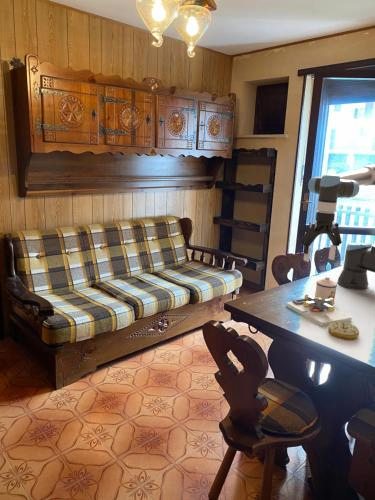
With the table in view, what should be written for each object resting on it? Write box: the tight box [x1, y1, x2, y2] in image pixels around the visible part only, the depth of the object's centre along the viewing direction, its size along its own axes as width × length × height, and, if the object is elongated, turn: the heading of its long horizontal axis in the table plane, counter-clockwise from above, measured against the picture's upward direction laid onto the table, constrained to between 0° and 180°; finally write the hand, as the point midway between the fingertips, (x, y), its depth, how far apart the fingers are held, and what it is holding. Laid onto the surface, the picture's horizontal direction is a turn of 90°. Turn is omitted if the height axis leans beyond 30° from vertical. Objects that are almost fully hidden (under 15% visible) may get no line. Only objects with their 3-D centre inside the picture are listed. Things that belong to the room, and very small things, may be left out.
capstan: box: [303, 293, 336, 312], centre depth 165 cm, size 17×17×5 cm
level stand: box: [286, 297, 352, 327], centre depth 166 cm, size 16×22×3 cm
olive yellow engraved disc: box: [328, 322, 360, 341], centre depth 147 cm, size 10×11×4 cm
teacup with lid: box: [314, 276, 338, 300], centre depth 181 cm, size 12×9×12 cm
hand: (318, 260), depth 168 cm, fingers open, 13 cm apart
